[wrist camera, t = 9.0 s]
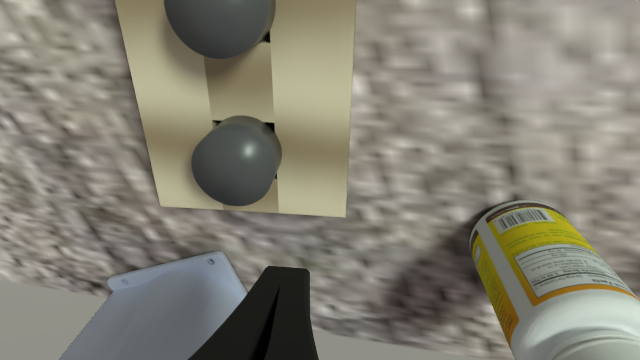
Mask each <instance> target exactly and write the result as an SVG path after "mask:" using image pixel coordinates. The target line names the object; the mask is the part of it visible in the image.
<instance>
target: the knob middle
mask: <svg viewBox="0 0 640 360" xmlns="http://www.w3.org/2000/svg"><path fill="white" fill-rule="evenodd" d="M164 7H165V11H166V15H167V18H168V20H169V23H170V25H171V27H172V28H173V30H174V32H175V33H176V35H177V36H178V37H179V39H180V40H181V41H182V42H183V43H184V44H185V45H187V46H188V47H189V48H190V49H192V50H193V51H195V52H196V53H198V54H200V55H203V56H206V57H209V58H214V59H226V58H231V57H234V56H237V55H239V54H241V53H243V52H244V51H246V50H248V49H250V48H251V47H253V46H255V45H256V44H258V43H259V42H261V41H262V40H263V39H264V38H265V36H266V35H267V34H268V32H269V31H270V29H271V27H272V24H273V21H274V18H275V11H276V3H275V0H164Z"/></svg>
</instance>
